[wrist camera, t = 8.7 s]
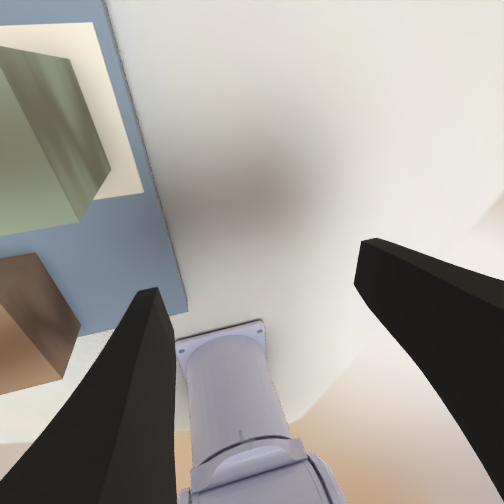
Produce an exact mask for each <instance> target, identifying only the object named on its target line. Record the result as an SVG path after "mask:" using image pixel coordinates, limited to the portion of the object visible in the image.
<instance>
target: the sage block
mask: <svg viewBox="0 0 504 504" xmlns="http://www.w3.org/2000/svg"><path fill="white" fill-rule="evenodd" d="M110 171H111V167H110V164H109V162H108V159H107V156H106V154H105V151H104V149H103V146H102V143H101V141H100V138H99V135H98V133H97V130H96V128H95V125H94V122H93V120H92V117H91V114H90V112H89V109H88V107H87V104H86V101H85V99H84V96H83V94H82V91H81V88H80V86H79V83H78V80H77V78H76V75H75V73H74V70H73V67H72V65H71V62H70V59H67V58H61V57H56V56H51V55H45V54H40V53H35V52H29V51H24V50H19V49H13V48H8V47H3V46H0V236H4V235H10V234H16V233H21V232H27V231H32V230H38V229H44V228H49V227H55V226H60V225H66V224H71V223H77V222H79V221H80V220H81V218H82V217H83V215H84V213H85V212H86V210H87V208H88V207H89V205H90V204H91V202H92V200H93V199H94V197H95V195H96V194H97V192H98V191H99V189H100V187H101V186H102V184H103V182H104V181H105V179H106V178H107V176H108V174H109V173H110Z"/></svg>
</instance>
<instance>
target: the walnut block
mask: <svg viewBox="0 0 504 504" xmlns="http://www.w3.org/2000/svg"><path fill="white" fill-rule="evenodd" d="M80 328H81V324H80V322H79V321H78V319H77V317H76V316H75V314H74V313H73V311H72V309H71V308H70V306H69V305H68V303H67V301H66V300H65V298H64V297H63V295H62V294H61V292H60V290H59V289H58V287H57V286H56V284H55V282H54V281H53V279H52V278H51V276H50V274H49V273H48V271H47V270H46V268H45V266H44V265H43V263H42V262H41V260H40V258H39V257H38V255H37V254H36V252H35V253H29V254H23V255H17V256H12V257H6V258H0V395H2V394H6V393H10V392H14V391H18V390H22V389H25V388H29V387H33V386H37V385H41V384H45V383H49V382H53V381H57V380H61V379H63V376H64V373H65V370H66V368H67V365H68V362H69V359H70V356H71V353H72V350H73V348H74V345H75V342H76V339H77V336H78V333H79V331H80Z"/></svg>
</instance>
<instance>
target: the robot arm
mask: <svg viewBox="0 0 504 504" xmlns="http://www.w3.org/2000/svg"><path fill="white" fill-rule="evenodd" d="M354 286H355V287H356V289H357V291H358V292H359V294H360V295H361V297H362V299H363V300H364V302H365V303H366V305H367V306H368V307H369V309H370V310H371V311H372V312H373V313H374V315H375V316H376V317H377V318H378V319H379V321H380V322H381V323H382V324H383V325H384V327H385V328H386V329H387V330H388V331H389V332H390V334H391V335H392V336H393V337H394V338H395V339H396V341H397V342H398V343H399V344H400V345H401V346H402V347H403V349H404V350H405V351H406V352H407V353H408V355H409V356H410V357H411V358H412V359H413V361H414V362H415V363H416V364H417V366H418V367H419V368H420V370H421V371H422V372H423V374H424V375H425V377H426V378H427V379H428V381H429V382H430V384H431V385H432V387H433V388H434V389H435V391H436V392H437V394H438V395H439V396H440V398H441V399H442V401H443V403H444V404H445V405H446V407H447V409H448V410H449V412H450V413H451V415H452V416H453V418H454V419H455V421H456V422H457V423H458V425H459V427H460V428H461V430H462V432H463V433H464V435H465V436H466V438H467V440H468V441H469V443H470V445H471V446H472V448H473V449H474V451H475V453H476V454H477V456H478V458H479V459H480V461H481V463H482V464H483V466H484V468H485V470H486V471H487V473H488V475H489V476H490V478H491V480H492V482H493V484H494V485H495V487H496V489H497V491H498V492H499V494H500V496H501V498H502V499H503V501H504V281H502V280H499V279H496V278H492V277H489V276H486V275H483V274H480V273H477V272H474V271H471V270H468V269H464V268H461V267H458V266H455V265H453V264H450V263H447V262H444V261H441V260H439V259H436V258H433V257H430V256H428V255H425V254H422V253H420V252H417V251H414V250H411V249H409V248H406V247H403V246H400V245H398V244H395V243H392V242H389V241H386V240H382V239H379V238H373V239H369V240H364V241H361V246H360V251H359V257H358V262H357V268H356V274H355V279H354ZM259 329H260V330H259ZM181 349H182V350H181ZM176 355H177V358H178V360H179V363H180V366H181V369H182V371H183V374H184V377H185V380H186V382H187V385H188V398H189V413H190V429H191V444H192V460H193V468H192V469H191V470H190V473H191V491H192V493H191V491H190V488H189V487H188V488H185V489H182V490H181V491H180V493H179V497H178V498H177V493H176V476H175V459H174V414H175V384H176ZM0 504H348V503H347V500H346V498H345V495H344V493H343V491H342V488H341V486H340V484H339V483H338V480H337V478H336V477H335V475H334V473H333V472H332V470H331V469H330V467H329V466H328V465H327V464H326V462H324V461H323V460H322V459H321V458H320V457H319V456H318V455H317V454H316V453H314V452H312V451H308V452H305V450H304V447H303V444H302V441H301V438H295V439H293V438H292V436H291V433H290V430H289V427H288V424H287V421H286V418H285V415H284V412H283V409H282V407H281V404H280V401H279V398H278V395H277V392H276V389H275V386H274V383H273V380H272V378H271V375H270V372H269V369H268V366H267V362H266V343H265V326H264V323H263V322H262V321H256V322H252V323H248V324H244V325H240V326H236V327H232V328H228V329H224V330H220V331H216V332H212V333H208V334H204V335H200V336H196V337H191V338H187V339H183V340H179V341H177V342H175V339H174V329H173V326H172V324H171V321H170V318H169V315H168V313H167V310H166V307H165V305H164V302H163V299H162V296H161V294H160V291H159V288H158V287H153V288H149V289H144V290H140V291H138V292H137V293H136V294H135V296H134V298H133V300H132V301H131V303H130V305H129V307H128V308H127V310H126V312H125V314H124V315H123V317H122V319H121V321H120V322H119V324H118V326H117V327H116V329H115V331H114V332H113V334H112V335H111V337H110V339H109V340H108V342H107V343H106V345H105V347H104V348H103V350H102V351H101V353H100V355H99V356H98V358H97V359H96V360H95V362H94V363H93V365H92V366H91V368H90V369H89V371H88V372H87V374H86V375H85V377H84V378H83V379H82V381H81V382H80V384H79V385H78V387H77V388H76V389H75V391H74V392H73V393H72V395H71V396H70V397H69V399H68V400H67V401H66V403H65V404H64V405H63V407H62V408H61V409H60V411H59V412H58V413H57V414H56V416H55V417H54V418H53V420H52V421H51V422H50V423H49V425H48V426H47V427H46V428H45V430H44V431H43V432H42V433H41V434H40V436H39V437H38V438H37V439H36V440H35V442H34V443H33V444H32V445H31V446H30V448H29V449H28V450H27V451H26V452H25V453H24V455H23V456H22V457H21V458H20V459H19V460H18V461H17V463H16V464H15V465H14V466H13V467H12V468H11V469H10V471H9V472H8V473H7V474H6V475H5V476H4V477H3V479H2V480H1V481H0Z"/></svg>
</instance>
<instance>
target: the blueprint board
mask: <svg viewBox="0 0 504 504" xmlns="http://www.w3.org/2000/svg"><path fill="white" fill-rule="evenodd" d="M0 46H3V47H8V48H13V49H19V50H24V51H29V52H35V53H40V54H45V55H51V56H56V57H61V58H67V59H70V62H71V65H72V67H73V70H74V73H75V75H76V78H77V80H78V83H79V86H80V88H81V91H82V94H83V96H84V99H85V101H86V104H87V107H88V109H89V112H90V114H91V117H92V120H93V122H94V125H95V128H96V130H97V133H98V135H99V138H100V141H101V143H102V146H103V149H104V151H105V154H106V156H107V159H108V162H109V164H110V167H111V171H110V173H109V174H108V176H107V178H106V179H105V181H104V182H103V184H102V186H101V187H100V189H99V191H98V192H97V194H96V195H95V197H94V199H93V200H92V202H91V204H90V205H89V207H88V208H87V210H86V212H85V213H84V215H83V217H82V218H81V220H80V221H79V222H77V223H71V224H66V225H60V226H55V227H49V228H44V229H38V230H32V231H27V232H21V233H16V234H10V235H4V236H0V258H6V257H12V256H17V255H23V254H29V253H35V252H36V254H37V255H38V257H39V258H40V260H41V262H42V263H43V265H44V266H45V268H46V270H47V271H48V273H49V274H50V276H51V278H52V279H53V281H54V282H55V284H56V286H57V287H58V289H59V290H60V292H61V294H62V295H63V297H64V298H65V300H66V301H67V303H68V305H69V306H70V308H71V309H72V311H73V313H74V314H75V316H76V317H77V319H78V321H79V322H80V324H81V328H80V331H79V333H78V336H77V337H80V336H84V335H89V334H93V333H97V332H102V331H106V330H110V329H115V328H116V327H117V326H118V324H119V322H120V321H121V319H122V317H123V315H124V314H125V312H126V310H127V308H128V307H129V305H130V303H131V301H132V300H133V298H134V296H135V294H136V293H137V292H138V291H140V290H144V289H149V288H153V287H158V288H159V291H160V294H161V296H162V299H163V302H164V305H165V307H166V310H167V313H168V315H169V316H171V315H175V314H180V313H184V312H188V305H187V298H186V295H185V291H184V287H183V284H182V280H181V277H180V273H179V269H178V266H177V262H176V258H175V255H174V251H173V247H172V244H171V240H170V237H169V233H168V229H167V226H166V222H165V218H164V215H163V211H162V207H161V204H160V200H159V197H158V193H157V189H156V186H155V182H154V178H153V175H152V171H151V167H150V164H149V160H148V157H147V153H146V149H145V146H144V142H143V138H142V135H141V131H140V127H139V124H138V120H137V117H136V113H135V109H134V106H133V102H132V98H131V95H130V91H129V87H128V84H127V80H126V77H125V73H124V69H123V66H122V62H121V58H120V55H119V51H118V47H117V44H116V40H115V37H114V33H113V29H112V26H111V22H110V18H109V15H108V11H107V7H106V4H105V0H0Z"/></svg>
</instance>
